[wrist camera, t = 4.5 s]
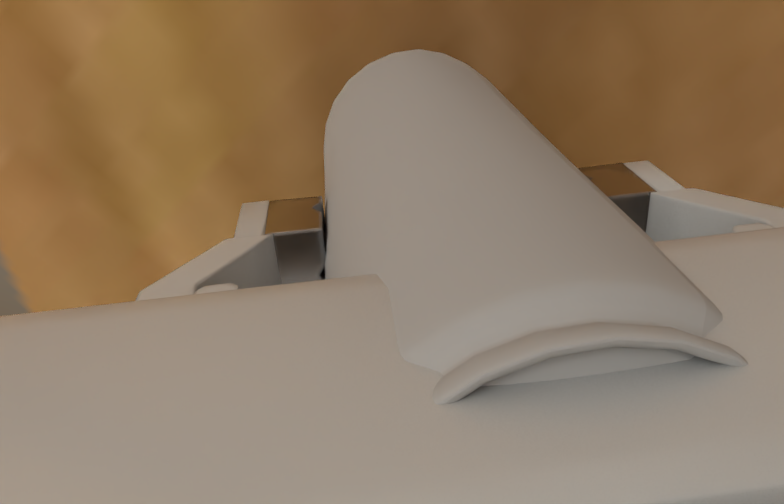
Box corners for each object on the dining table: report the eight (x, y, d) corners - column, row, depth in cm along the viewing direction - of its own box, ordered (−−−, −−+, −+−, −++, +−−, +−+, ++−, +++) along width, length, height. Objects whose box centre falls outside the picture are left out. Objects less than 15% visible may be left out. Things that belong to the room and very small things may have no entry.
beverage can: (380, 254, 18) (472, 721, 8) (282, 110, 16) (230, 490, 6) (534, 167, 18) (861, 555, 7) (453, 4, 16) (751, 219, 5)
